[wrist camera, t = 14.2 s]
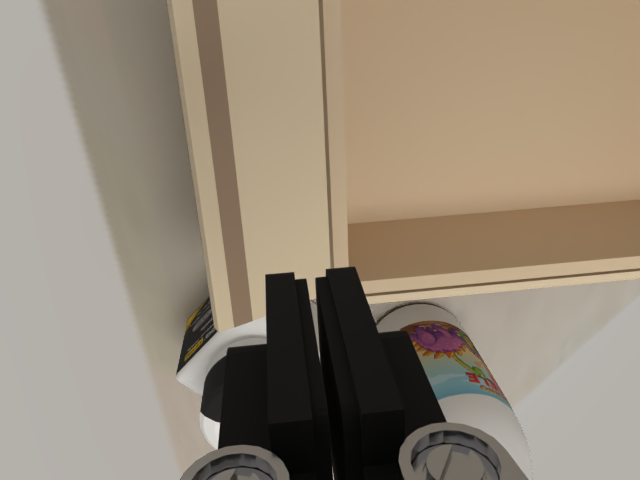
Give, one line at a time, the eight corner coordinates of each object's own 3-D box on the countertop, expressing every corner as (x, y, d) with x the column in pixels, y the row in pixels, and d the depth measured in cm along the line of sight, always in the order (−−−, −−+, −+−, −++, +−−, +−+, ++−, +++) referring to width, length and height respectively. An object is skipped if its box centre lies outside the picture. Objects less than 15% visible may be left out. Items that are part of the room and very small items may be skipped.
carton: (734, -91, 34) (887, -118, 26) (668, 214, 42) (769, 267, 33) (302, -72, 32) (318, -95, 24) (319, 244, 40) (335, 309, 32)
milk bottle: (414, 399, 46) (517, 663, 28) (344, 351, 44) (408, 608, 25) (481, 335, 44) (639, 573, 26) (413, 281, 42) (535, 504, 24)
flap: (316, -56, 23) (163, -55, 20) (331, 292, 30) (219, 332, 27) (308, -55, 24) (158, -53, 21) (325, 288, 31) (214, 327, 28)
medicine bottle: (249, 251, 39) (246, 350, 29) (323, 308, 42) (347, 419, 31) (186, 319, 41) (160, 438, 30) (260, 370, 44) (261, 496, 33)
